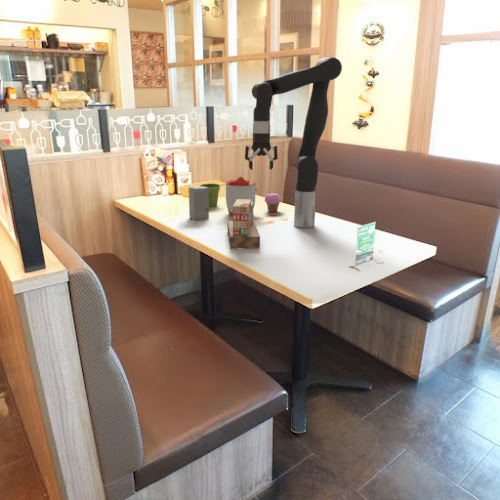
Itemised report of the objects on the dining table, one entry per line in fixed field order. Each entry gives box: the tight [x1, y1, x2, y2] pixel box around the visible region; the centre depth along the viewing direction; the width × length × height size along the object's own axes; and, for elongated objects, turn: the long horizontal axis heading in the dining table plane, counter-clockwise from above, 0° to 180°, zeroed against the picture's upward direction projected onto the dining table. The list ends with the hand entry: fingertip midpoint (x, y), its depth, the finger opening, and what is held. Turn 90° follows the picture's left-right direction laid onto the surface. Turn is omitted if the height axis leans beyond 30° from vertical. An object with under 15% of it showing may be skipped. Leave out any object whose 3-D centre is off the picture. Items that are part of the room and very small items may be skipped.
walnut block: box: [226, 220, 261, 250], centre depth 193 cm, size 12×24×5 cm, turn 6°
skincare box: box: [188, 185, 210, 221], centre depth 223 cm, size 8×7×16 cm
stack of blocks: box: [232, 199, 254, 235], centre depth 190 cm, size 21×6×12 cm, turn 174°
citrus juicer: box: [225, 176, 258, 217], centre depth 230 cm, size 16×17×20 cm
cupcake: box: [264, 192, 282, 213], centre depth 239 cm, size 9×9×10 cm
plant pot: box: [199, 183, 222, 207], centre depth 250 cm, size 12×12×11 cm
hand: (260, 169), depth 198 cm, fingers open, 8 cm apart
